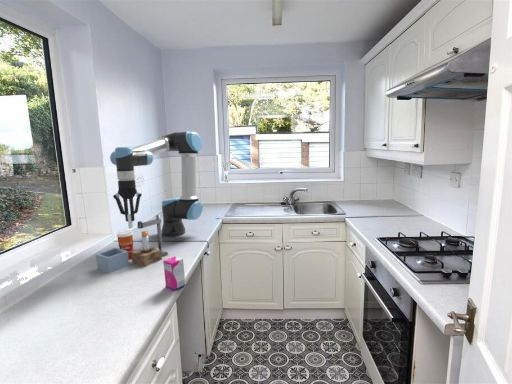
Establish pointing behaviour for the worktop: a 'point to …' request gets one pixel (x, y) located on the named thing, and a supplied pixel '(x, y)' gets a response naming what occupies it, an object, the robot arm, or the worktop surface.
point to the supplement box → (174, 273)
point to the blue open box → (112, 260)
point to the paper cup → (126, 241)
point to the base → (164, 253)
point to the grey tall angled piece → (157, 221)
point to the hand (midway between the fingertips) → (130, 227)
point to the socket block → (146, 256)
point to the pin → (145, 241)
